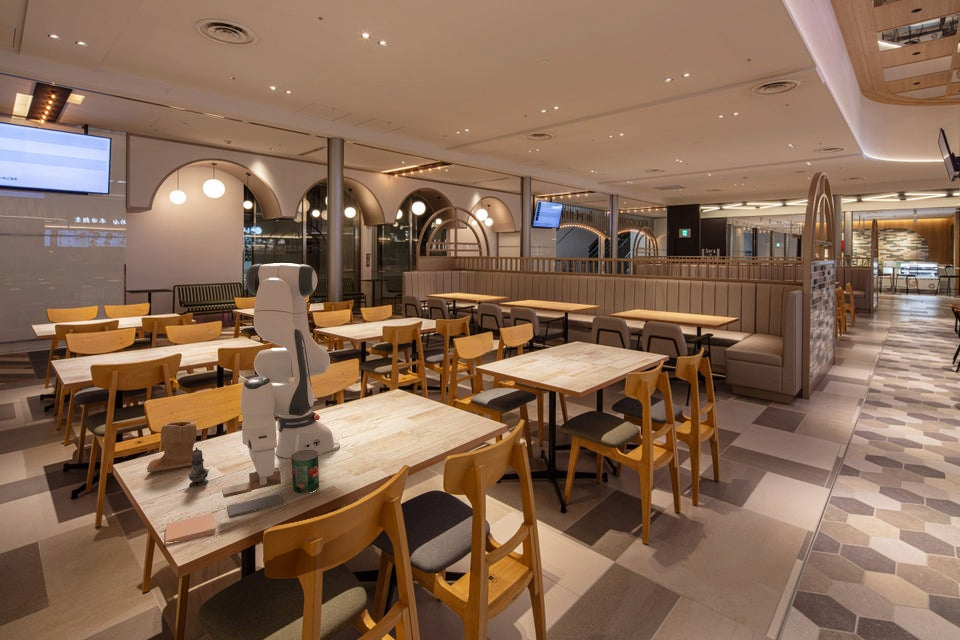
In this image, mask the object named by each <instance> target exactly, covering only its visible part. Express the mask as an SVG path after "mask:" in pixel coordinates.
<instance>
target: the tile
mask: <svg viewBox="0 0 960 640" xmlns="http://www.w3.org/2000/svg"><path fill="white" fill-rule="evenodd" d="M215 533H216V524H215V516H214V512H210V513H206V514H203V515H198V516H195V517H194V516H193V517H190V518H186V519H182V520H176V521H172V522H169V523H165V536H164V537H165V542H175V541H179V542H183V541H186V540H190V539H191V540H192V539H195V538H199V537H202V536H206V535H210V534H215ZM175 543H176V542H175Z"/></svg>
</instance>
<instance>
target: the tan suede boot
mask: <svg viewBox="0 0 960 640" xmlns="http://www.w3.org/2000/svg"><path fill="white" fill-rule="evenodd" d="M197 434H198V433H197V424H196V423H195V422H194V421H177V422H176V421H175V422H168V423H164V424H163V425H162V427H161V430H160V439H161V443H162V448H163V451H164V452H163V453H164V454H163V455H162V456H161V457H159V458H156V459H155V458H154V459H153V460H151V461H150V462H148V465H147V467H146V468H147V469H146V470H147V473H154V472H162V471H167V470H168V471H169V470H174V469H179V468H180V469H181V468H185V467H189V466H192V463H191V461H192V452H193V451H194V446H195V443H196V439H197Z"/></svg>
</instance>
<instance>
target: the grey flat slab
mask: <svg viewBox="0 0 960 640" xmlns="http://www.w3.org/2000/svg"><path fill="white" fill-rule="evenodd" d="M280 504H281V505H284V502H283V499H282V496H281V495H280V493H275V494H271V495H268V496H263V497H258V498H254V499H251V500H246V501H243V502H238V503H237V502H236V503H235V504H230V505H227V513H228V516H229V518H233V517H236V516H240V515H244V514H249V513H253V512H256V511H255V510H257V511H260V509H261V510H264V509H263V508H265V509H268V507H269V508H272V506H273V507H277V506H280ZM276 505H277V506H276ZM252 511H253V512H252Z"/></svg>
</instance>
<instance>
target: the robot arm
mask: <svg viewBox="0 0 960 640" xmlns="http://www.w3.org/2000/svg"><path fill="white" fill-rule="evenodd" d="M245 275H246V276H245V284H246V288H247V290H248V291H249V293H251V295H254V296H255V302H254V307H253V327H254V330H255V332H256V334H257V335H258V336H259V337H260V338H261V339H263V340H265V341H266V342H268V343H271V344H273V345H277V346H279V347H272V348H267V349H262V350H259V352H258V353H257V354H256V355H255V357H254V359H253V368H254V370H255V373H256V374H257V375H258V376H253V377H250V378H249V379H246V380H245V381H244V382H243V383H242V386H241V392H240V414H241V416H242V423H241V432H242V433H241V436H242V444H243V445H245V446H246V447H247V449H248V453H249V457H250V459H251V461H252V463H253V467H254V468H255V470H256V471H255V472H257V473H258V475H259V483H260V485H263V484H266V483H267V477H271V476H273V474H274V468H275V465H276V464H275V462H276V461H275V460H276V456H278V457H280V458H283V459H291V456H292V454H294V453H295V452H298V451H302V450H315V451H317V452H318V454H319V455H322V454H321V453H323V454H325V453H324V452H326V453H328V452H327V451H329V452H332V451H331V450H333V451H336V450H338V449H339V448H340V447H339V446H341V445H340V441H339V440H338V439H337V438H336V437H334V435H333V432H332V431H331V429H330V427H328V426H327V425H326V424H324V423H322V422H320V419H321V415H319V414H318V413H316V412H315V411H313V410H312V408H313V407H314V402H315V394H314V390H313V386H312V381H311V377H317V376H319V375H323V374H325V373H326V372H327V371H328V370H329V368H330V365H331V357H330V354H329V353H328V351H327V349H325V348H324V347H322V346H321V345H320V344H318V342H316V340H314V338H313V337H312V335H311V333H310V329H309V324H308V323H309V322H308V311H307V310H308V309H307V300H306V298H307V297H309V296H311V295H312V294H313V293H314V292H315V291H316V289H317V285H318V276H317V273H316V270H315V268H314V267H313V266H311V265H308V264H303V263H302V264H297V263H288V262H287V263H285V262H281V263H267V264H266V263H265V264H262V263H257V264H252V265H250V266H249V268H248V269H247V271H246V274H245ZM293 379H294V380H293ZM275 416H277V421H276V419H275ZM276 422H277V423H276ZM277 431H278V439H277ZM335 449H336V450H335Z"/></svg>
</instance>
